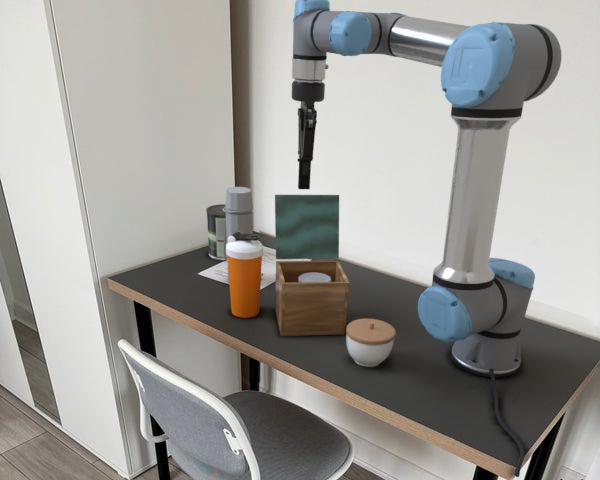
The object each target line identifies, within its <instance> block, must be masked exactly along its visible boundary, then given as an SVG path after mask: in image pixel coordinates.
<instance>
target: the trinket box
mask: <svg viewBox="0 0 600 480" xmlns="http://www.w3.org/2000/svg"><path fill="white" fill-rule="evenodd" d="M396 333H397V332H396V329H395V327H394V326H393V325H392V324H390V323H389V322H386V321H384V320H380V319H375V318H358V319H354V320H352V321H350V322H349V323H348V324H346V327H345V343H346V344H345V345H346V350H347V352H348V354H349V356H350V357H351V358H352V359H353V361H354V363H355V364H357V365H359V366H361V367H367V368H374V367H378V366H379V365H380V364H381V363H382V362H384V361H385V360H386V359H387V358H388V357H389V355H391V352H392V350H393V348H394V343H395V338H396Z"/></svg>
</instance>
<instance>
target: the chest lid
mask: <svg viewBox="0 0 600 480" xmlns="http://www.w3.org/2000/svg"><path fill="white" fill-rule="evenodd" d="M274 224H275V225H274V227H275V229H274V230H275V233H274V234H275V260H338V259H340V258H339V257H340V194H274Z"/></svg>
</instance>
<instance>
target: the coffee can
mask: <svg viewBox="0 0 600 480" xmlns="http://www.w3.org/2000/svg"><path fill="white" fill-rule="evenodd" d="M225 204H226V203H225ZM225 204H224V203H223V204H214V205H210V206H208V207H207V208H206V209H205V210H206V221H207V222H206V223H207V238H208V241H207V243H208V256H209V257H210V258H211V259H213V260H217V261H226V260H225V259H224V251H223V250H224V234H225V218H226V212H224V211H223V208H225ZM224 210H225V209H224ZM226 245H227V233H226ZM225 251H226V250H225ZM226 258H227V254H226Z"/></svg>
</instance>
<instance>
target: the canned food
mask: <svg viewBox="0 0 600 480" xmlns="http://www.w3.org/2000/svg"><path fill="white" fill-rule="evenodd" d="M298 282H331V278H330V277H329V276H328V275H326V274H323V273H316V272H311V273H305V274H302V275H300V276H299V279H298Z"/></svg>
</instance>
